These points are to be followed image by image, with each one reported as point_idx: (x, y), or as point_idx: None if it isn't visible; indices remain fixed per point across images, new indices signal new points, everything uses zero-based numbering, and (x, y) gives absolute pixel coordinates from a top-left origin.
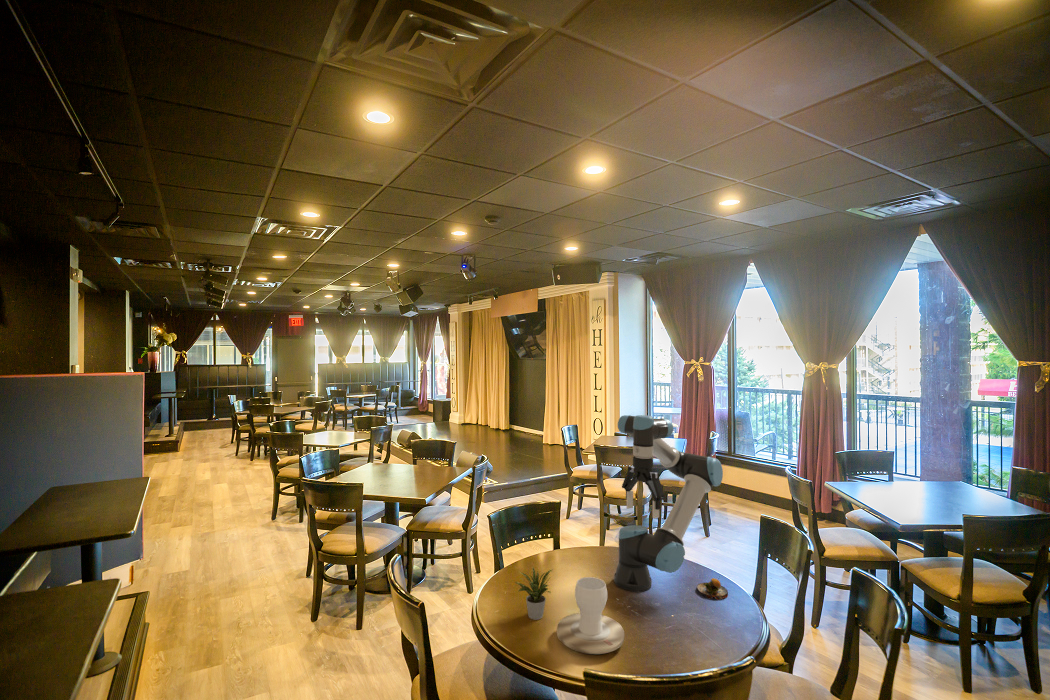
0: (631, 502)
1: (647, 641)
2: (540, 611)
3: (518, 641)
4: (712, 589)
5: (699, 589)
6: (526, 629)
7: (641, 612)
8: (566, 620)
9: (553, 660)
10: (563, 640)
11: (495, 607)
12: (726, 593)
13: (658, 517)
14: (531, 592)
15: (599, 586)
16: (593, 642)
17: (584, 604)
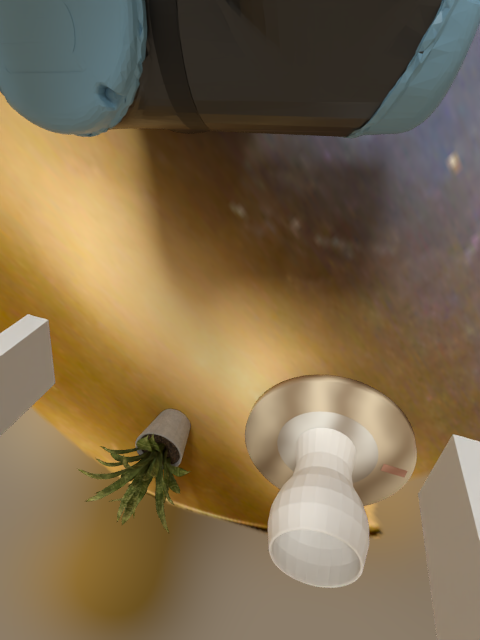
0: (3, 378)
1: (449, 358)
2: (186, 441)
3: (229, 498)
4: None
5: None
6: (205, 465)
7: (351, 230)
8: (258, 448)
9: None
10: None
11: (101, 440)
12: None
13: (475, 452)
14: (151, 479)
15: (315, 504)
16: (365, 484)
17: (329, 548)
